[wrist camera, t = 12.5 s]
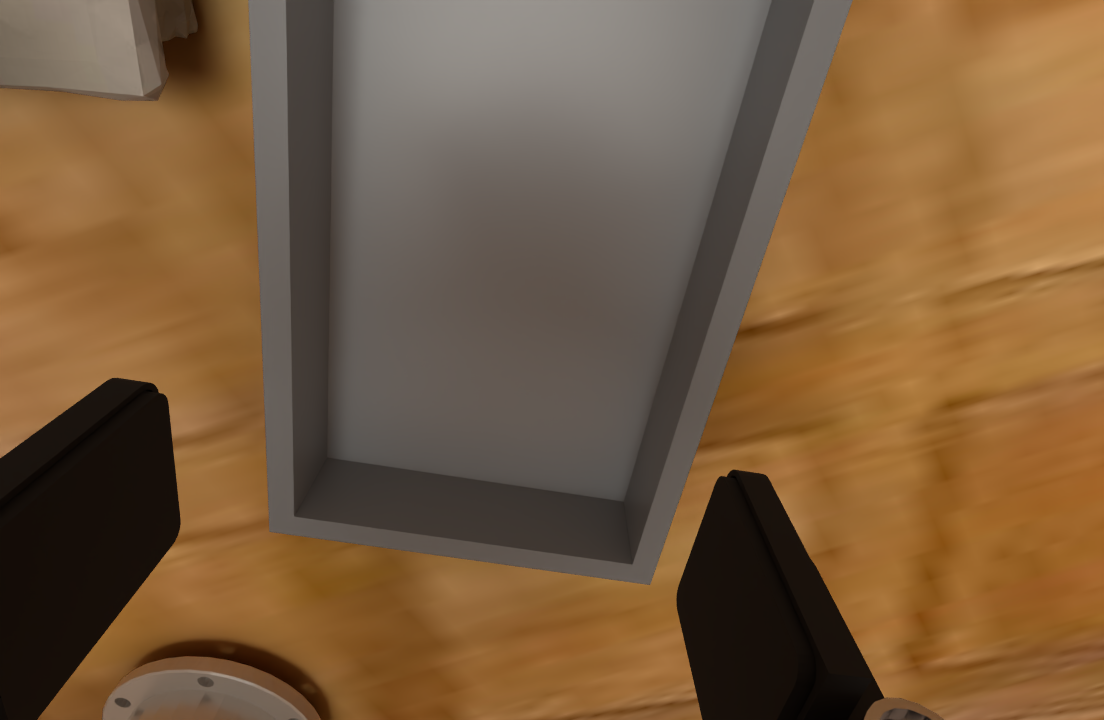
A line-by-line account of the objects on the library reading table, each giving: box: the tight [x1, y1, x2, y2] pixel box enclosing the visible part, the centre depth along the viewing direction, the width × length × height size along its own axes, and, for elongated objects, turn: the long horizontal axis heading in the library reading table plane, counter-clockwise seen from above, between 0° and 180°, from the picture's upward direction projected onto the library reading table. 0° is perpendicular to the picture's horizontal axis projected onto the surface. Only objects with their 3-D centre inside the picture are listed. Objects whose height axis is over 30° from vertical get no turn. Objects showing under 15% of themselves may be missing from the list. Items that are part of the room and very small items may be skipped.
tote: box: [248, 0, 852, 585], centre depth 22 cm, size 26×16×5 cm, turn 170°
